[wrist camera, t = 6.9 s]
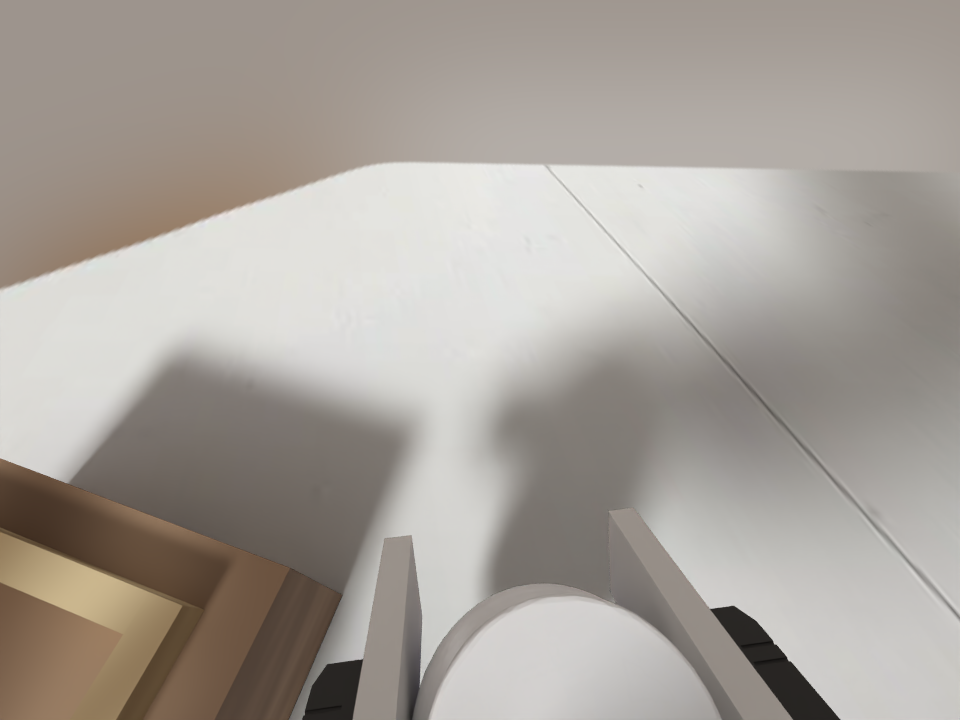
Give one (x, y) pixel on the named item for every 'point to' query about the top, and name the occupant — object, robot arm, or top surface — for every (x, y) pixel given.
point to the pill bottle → (558, 663)
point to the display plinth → (142, 614)
